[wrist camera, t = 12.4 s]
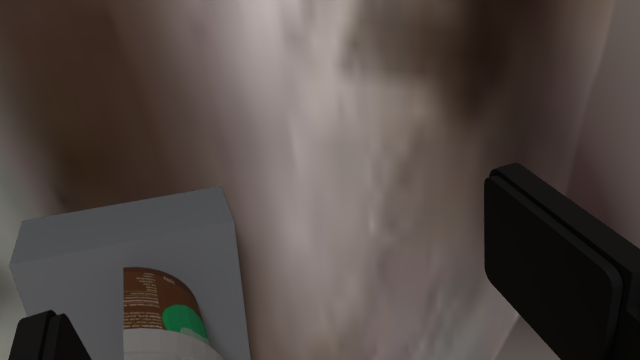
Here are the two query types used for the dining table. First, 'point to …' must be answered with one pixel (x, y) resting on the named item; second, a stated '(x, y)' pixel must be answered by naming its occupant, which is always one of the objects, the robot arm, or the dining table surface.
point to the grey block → (134, 251)
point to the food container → (162, 318)
